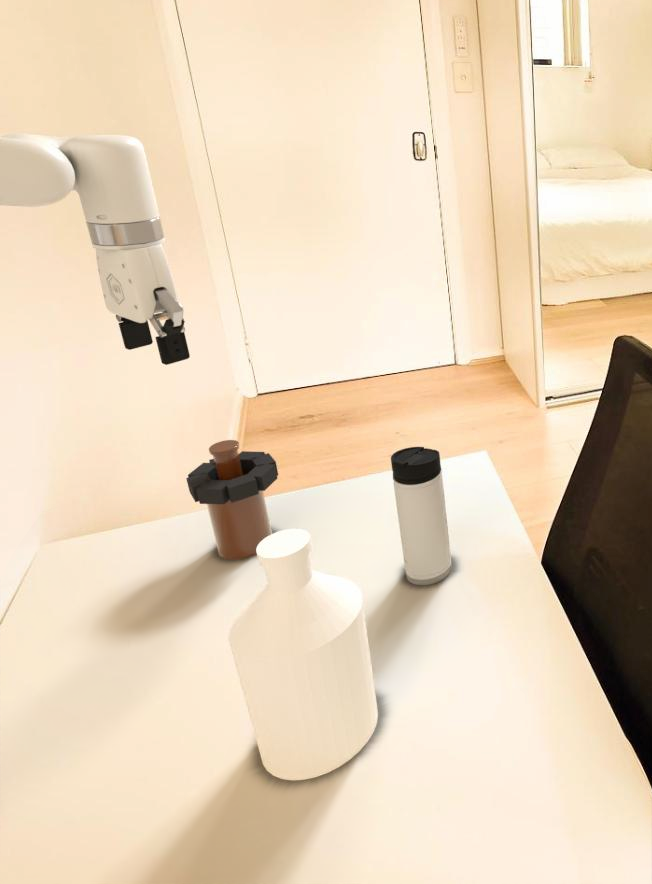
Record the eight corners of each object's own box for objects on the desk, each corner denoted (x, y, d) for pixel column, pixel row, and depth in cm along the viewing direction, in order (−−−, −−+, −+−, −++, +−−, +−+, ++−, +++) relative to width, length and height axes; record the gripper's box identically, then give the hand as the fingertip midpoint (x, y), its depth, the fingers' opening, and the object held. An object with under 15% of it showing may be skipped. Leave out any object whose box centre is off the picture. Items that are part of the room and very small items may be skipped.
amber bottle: (235, 566, 100) (211, 463, 94) (208, 550, 103) (183, 449, 97) (283, 540, 106) (263, 442, 100) (256, 526, 109) (235, 429, 103)
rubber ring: (250, 505, 96) (246, 490, 95) (174, 503, 95) (170, 488, 95) (290, 465, 105) (288, 452, 105) (221, 464, 105) (218, 450, 104)
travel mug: (394, 581, 98) (377, 459, 91) (425, 553, 104) (411, 437, 97) (431, 592, 96) (416, 468, 89) (460, 563, 102) (449, 445, 95)
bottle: (248, 800, 68) (194, 597, 60) (268, 705, 78) (225, 520, 70) (379, 762, 72) (346, 567, 64) (382, 676, 83) (354, 498, 74)
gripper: (60, 228, 91) (95, 349, 97) (127, 247, 83) (159, 376, 89) (127, 220, 97) (155, 334, 103) (194, 236, 89) (221, 358, 95)
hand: (157, 353), depth 96 cm, fingers open, 9 cm apart
